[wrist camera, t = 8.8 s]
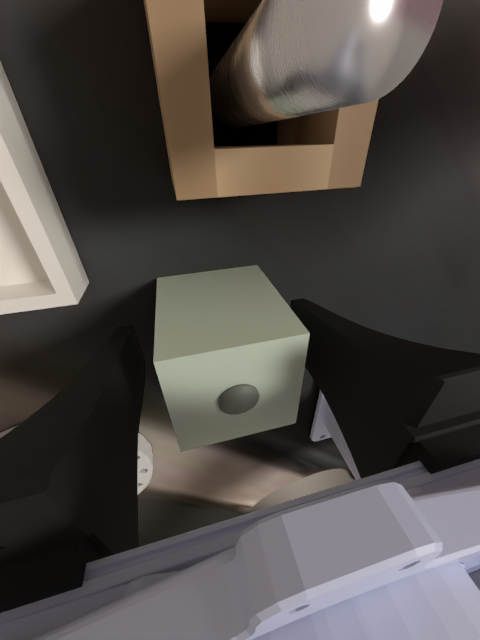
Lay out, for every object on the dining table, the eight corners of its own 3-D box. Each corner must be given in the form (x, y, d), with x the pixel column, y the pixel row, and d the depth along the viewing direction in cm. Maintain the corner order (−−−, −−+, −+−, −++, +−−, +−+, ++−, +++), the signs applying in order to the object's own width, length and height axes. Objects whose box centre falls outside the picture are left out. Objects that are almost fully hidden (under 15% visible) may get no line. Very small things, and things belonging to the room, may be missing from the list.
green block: (257, 264, 12) (311, 335, 8) (256, 339, 15) (296, 425, 10) (157, 277, 11) (153, 364, 7) (175, 354, 14) (181, 454, 10)
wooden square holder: (316, -24, 8) (431, -149, 4) (299, 173, 10) (360, 186, 7) (137, -40, 7) (112, -214, 3) (172, 181, 9) (177, 200, 6)
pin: (266, 65, 8) (482, -96, 3) (256, 133, 9) (399, 117, 4) (211, 48, 8) (337, -195, 2) (206, 122, 9) (284, 84, 3)
